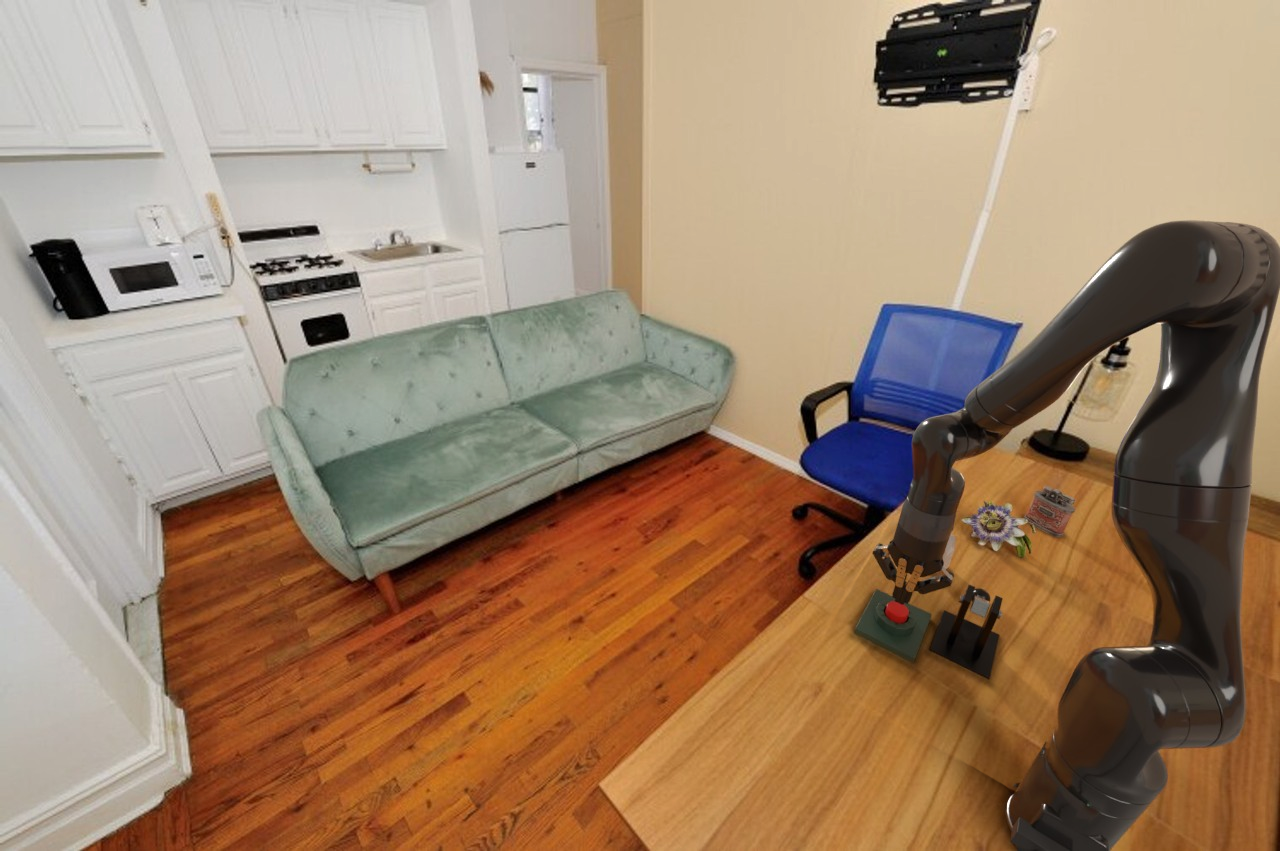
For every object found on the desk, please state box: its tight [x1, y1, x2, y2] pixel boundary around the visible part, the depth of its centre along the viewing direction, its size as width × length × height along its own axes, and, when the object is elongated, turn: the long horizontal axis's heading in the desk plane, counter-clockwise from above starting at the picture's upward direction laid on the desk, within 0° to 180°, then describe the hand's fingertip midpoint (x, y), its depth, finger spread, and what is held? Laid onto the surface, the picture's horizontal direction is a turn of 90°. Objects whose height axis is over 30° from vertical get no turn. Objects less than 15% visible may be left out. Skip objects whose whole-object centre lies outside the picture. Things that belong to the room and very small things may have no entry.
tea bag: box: [935, 533, 957, 574], centre depth 105 cm, size 4×7×10 cm, turn 35°
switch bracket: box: [929, 584, 1003, 680], centre depth 87 cm, size 11×9×12 cm
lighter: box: [1023, 485, 1076, 538], centre depth 115 cm, size 8×3×10 cm, turn 25°
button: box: [885, 601, 909, 623], centre depth 91 cm, size 4×4×2 cm
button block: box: [853, 588, 932, 664], centre depth 92 cm, size 12×10×4 cm
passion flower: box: [960, 500, 1037, 559], centre depth 112 cm, size 11×11×12 cm
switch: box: [969, 587, 991, 619], centre depth 89 cm, size 13×3×3 cm, turn 141°
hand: (900, 600), depth 90 cm, fingers closed
